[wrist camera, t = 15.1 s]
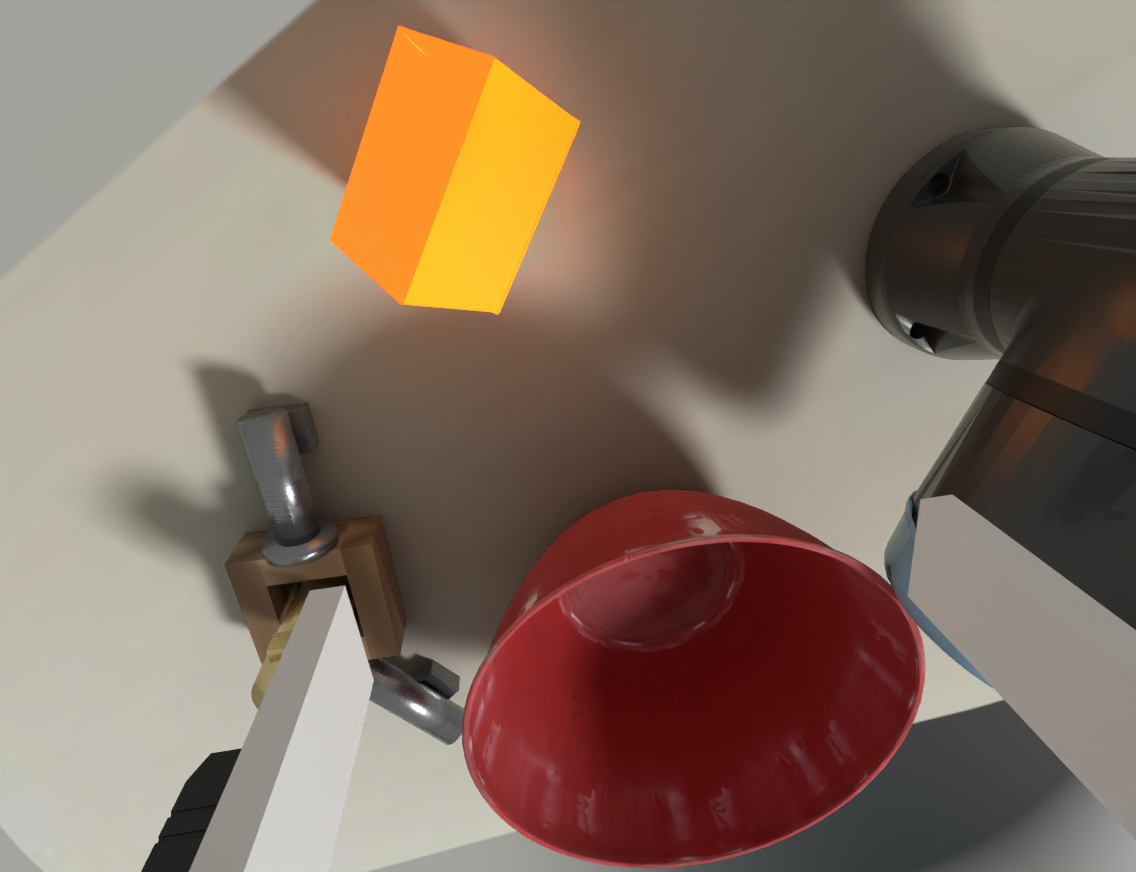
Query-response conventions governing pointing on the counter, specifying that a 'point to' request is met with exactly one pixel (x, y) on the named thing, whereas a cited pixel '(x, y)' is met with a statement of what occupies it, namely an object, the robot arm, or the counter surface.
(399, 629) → the coupling block
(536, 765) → the mixing bowl
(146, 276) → the counter surface
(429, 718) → the shaft
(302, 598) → the joint pin
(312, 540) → the shaft
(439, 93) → the orange juice
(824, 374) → the counter surface
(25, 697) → the counter surface
